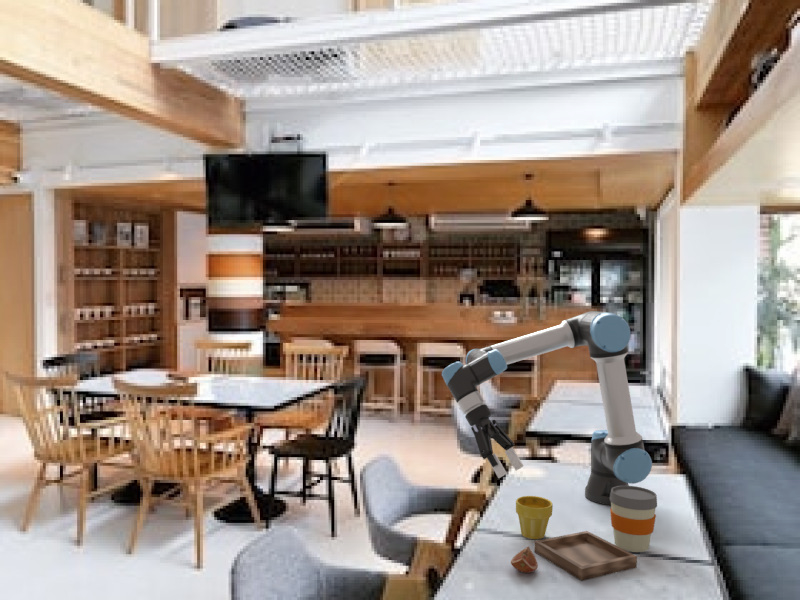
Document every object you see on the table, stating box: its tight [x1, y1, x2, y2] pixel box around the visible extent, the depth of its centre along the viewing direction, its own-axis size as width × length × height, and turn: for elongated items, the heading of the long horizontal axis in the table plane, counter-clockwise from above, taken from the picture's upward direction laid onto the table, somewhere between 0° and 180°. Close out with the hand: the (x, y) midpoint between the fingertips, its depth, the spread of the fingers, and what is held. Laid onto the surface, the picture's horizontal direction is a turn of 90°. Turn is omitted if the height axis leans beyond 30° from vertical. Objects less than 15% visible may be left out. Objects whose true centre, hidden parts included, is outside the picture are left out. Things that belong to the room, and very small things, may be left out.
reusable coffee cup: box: [609, 485, 658, 553], centre depth 184 cm, size 12×12×15 cm
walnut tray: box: [534, 530, 638, 582], centre depth 173 cm, size 18×18×3 cm
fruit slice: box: [510, 546, 539, 574], centre depth 166 cm, size 8×7×5 cm
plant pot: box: [515, 495, 553, 540], centre depth 189 cm, size 10×10×10 cm
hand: (511, 472), depth 194 cm, fingers open, 13 cm apart
